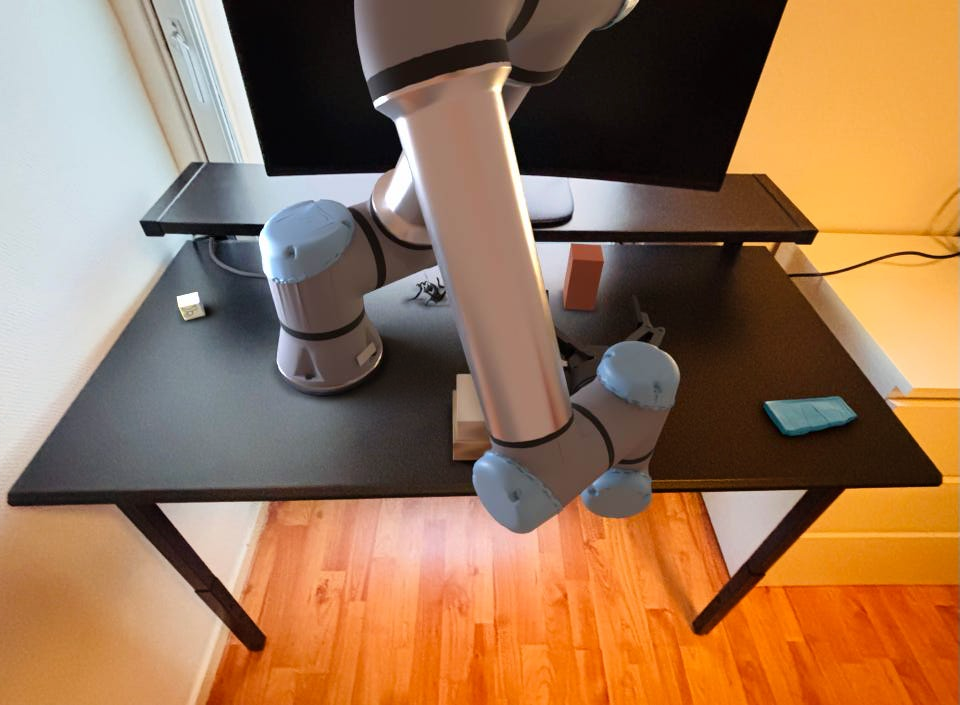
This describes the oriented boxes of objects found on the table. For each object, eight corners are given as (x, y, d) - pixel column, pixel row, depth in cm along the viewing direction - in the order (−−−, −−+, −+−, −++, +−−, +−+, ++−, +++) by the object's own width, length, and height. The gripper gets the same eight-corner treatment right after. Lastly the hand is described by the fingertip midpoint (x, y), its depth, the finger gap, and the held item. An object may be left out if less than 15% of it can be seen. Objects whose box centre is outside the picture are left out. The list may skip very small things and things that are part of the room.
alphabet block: (205, 316, 87) (199, 301, 85) (184, 321, 86) (178, 306, 84) (203, 306, 89) (197, 291, 87) (183, 310, 88) (176, 295, 86)
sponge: (867, 428, 73) (843, 393, 76) (784, 433, 71) (765, 398, 75) (860, 434, 74) (837, 399, 78) (779, 439, 73) (760, 404, 76)
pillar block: (564, 309, 92) (572, 259, 85) (562, 292, 95) (570, 243, 89) (593, 310, 92) (604, 261, 85) (590, 293, 95) (601, 244, 89)
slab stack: (453, 460, 68) (453, 424, 63) (452, 407, 74) (452, 371, 69) (523, 459, 68) (528, 423, 63) (517, 406, 75) (521, 371, 70)
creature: (400, 301, 94) (423, 316, 88) (394, 273, 91) (417, 286, 85) (437, 287, 97) (462, 300, 91) (433, 259, 94) (458, 271, 89)
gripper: (502, 411, 70) (507, 313, 86) (692, 425, 70) (662, 323, 85) (506, 370, 65) (510, 274, 81) (711, 385, 65) (675, 284, 80)
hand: (588, 299), depth 83 cm, fingers open, 13 cm apart
